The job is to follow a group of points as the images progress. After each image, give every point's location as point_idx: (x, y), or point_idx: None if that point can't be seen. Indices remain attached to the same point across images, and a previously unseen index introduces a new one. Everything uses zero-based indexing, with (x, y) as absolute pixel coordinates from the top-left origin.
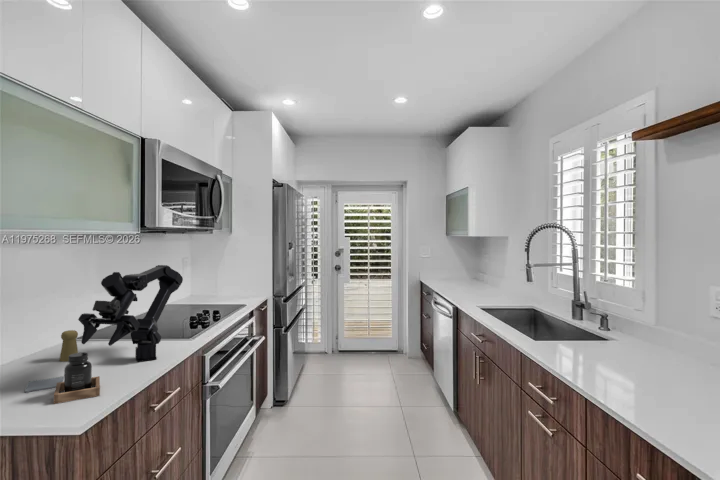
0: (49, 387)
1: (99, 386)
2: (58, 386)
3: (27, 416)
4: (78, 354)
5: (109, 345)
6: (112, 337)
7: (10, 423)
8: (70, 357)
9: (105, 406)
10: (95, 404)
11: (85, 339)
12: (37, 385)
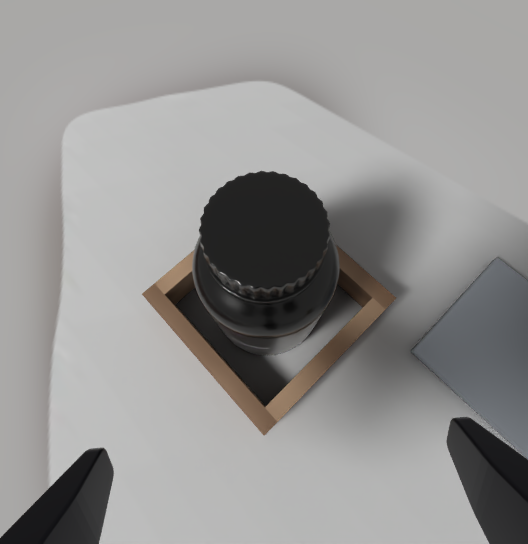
0: (443, 318)
1: (152, 304)
2: (342, 262)
3: (266, 123)
4: (265, 228)
5: (109, 465)
6: (24, 530)
7: (271, 86)
8: (272, 172)
9: (66, 230)
10: (114, 235)
11: (482, 478)
12: (521, 322)
